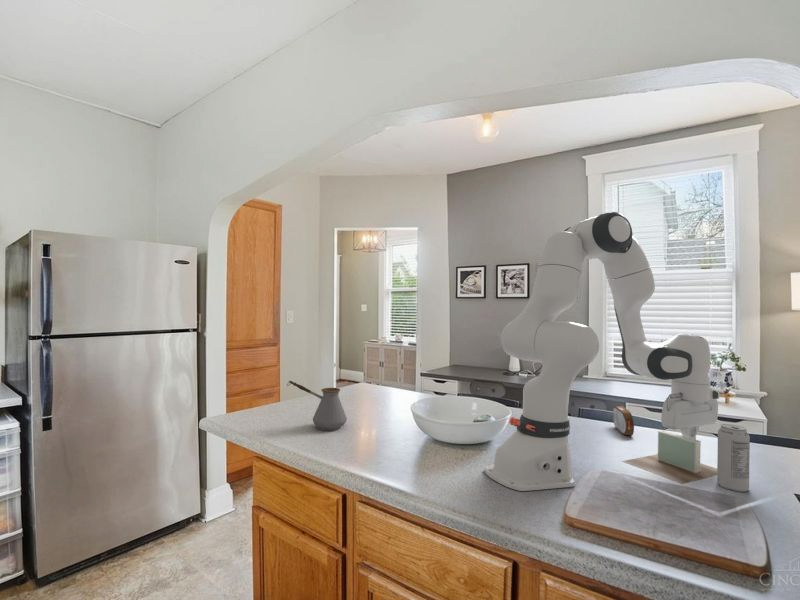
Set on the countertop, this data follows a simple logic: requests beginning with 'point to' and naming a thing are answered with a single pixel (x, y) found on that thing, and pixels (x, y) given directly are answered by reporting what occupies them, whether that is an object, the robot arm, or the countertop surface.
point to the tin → (623, 420)
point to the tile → (679, 451)
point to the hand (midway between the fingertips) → (689, 442)
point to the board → (671, 469)
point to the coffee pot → (327, 409)
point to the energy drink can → (733, 458)
